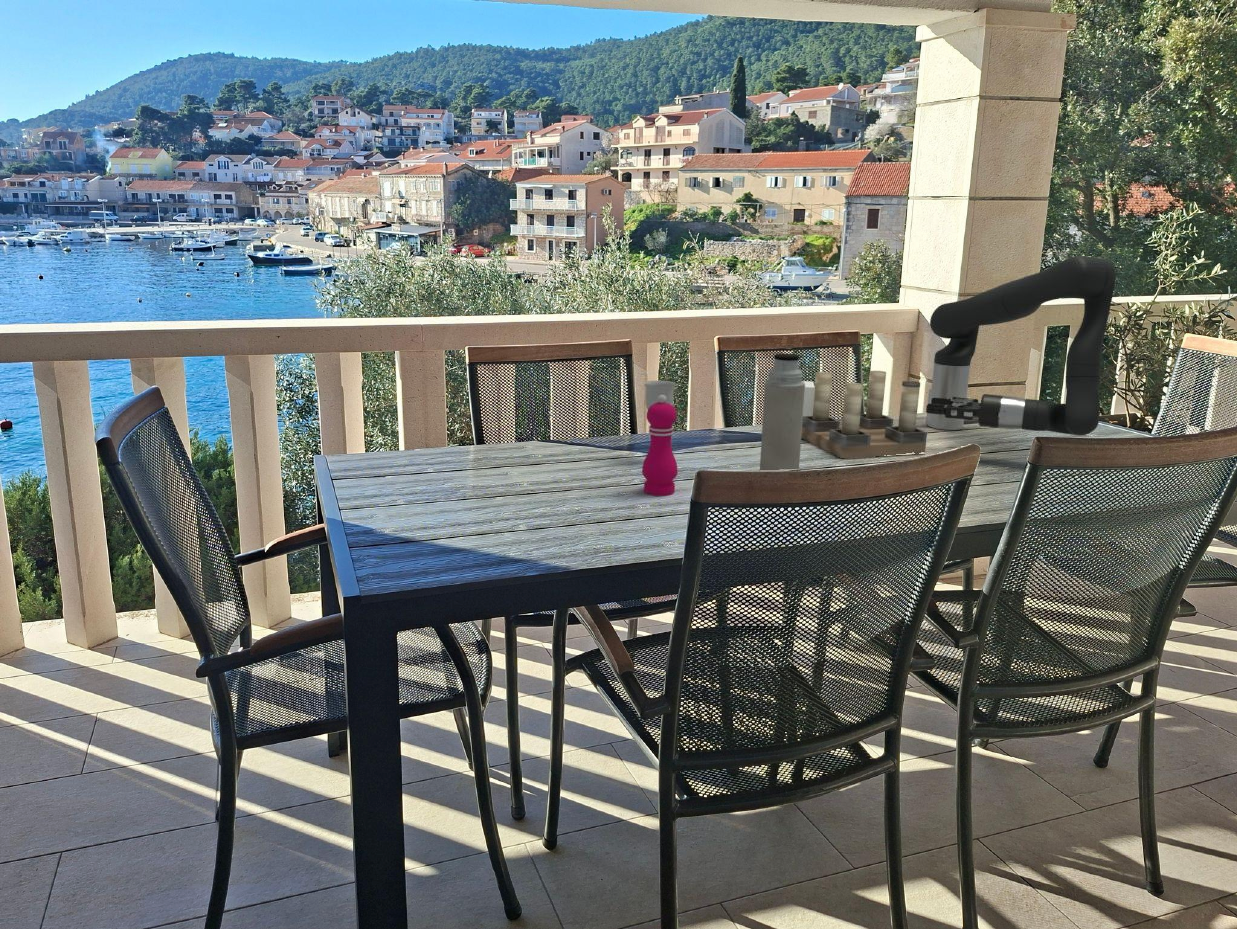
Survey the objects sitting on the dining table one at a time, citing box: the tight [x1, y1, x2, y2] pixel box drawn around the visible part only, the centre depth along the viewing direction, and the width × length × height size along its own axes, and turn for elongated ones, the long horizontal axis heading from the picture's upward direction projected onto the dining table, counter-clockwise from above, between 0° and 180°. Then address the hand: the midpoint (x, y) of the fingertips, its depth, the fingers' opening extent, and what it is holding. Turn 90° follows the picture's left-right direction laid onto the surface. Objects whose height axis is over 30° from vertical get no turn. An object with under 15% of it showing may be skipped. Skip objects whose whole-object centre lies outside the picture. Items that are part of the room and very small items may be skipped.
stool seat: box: [801, 370, 928, 459], centre depth 232 cm, size 22×22×17 cm
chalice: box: [643, 380, 677, 411], centre depth 214 cm, size 7×7×18 cm
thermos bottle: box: [759, 353, 805, 471], centre depth 194 cm, size 8×8×28 cm
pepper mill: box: [641, 395, 679, 497], centre depth 191 cm, size 7×7×20 cm
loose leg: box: [897, 380, 921, 433], centre depth 227 cm, size 4×4×14 cm
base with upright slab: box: [802, 380, 815, 416], centre depth 250 cm, size 9×9×12 cm
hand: (929, 405), depth 225 cm, fingers open, 8 cm apart
